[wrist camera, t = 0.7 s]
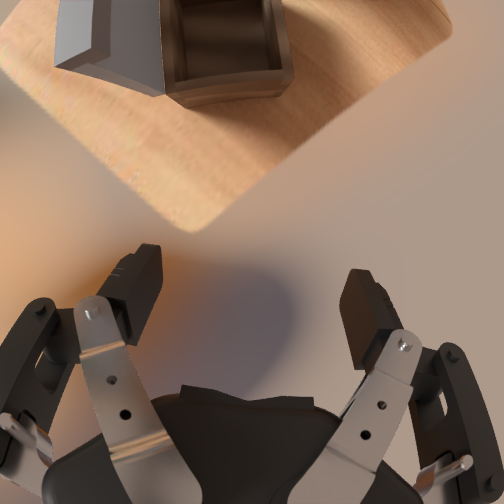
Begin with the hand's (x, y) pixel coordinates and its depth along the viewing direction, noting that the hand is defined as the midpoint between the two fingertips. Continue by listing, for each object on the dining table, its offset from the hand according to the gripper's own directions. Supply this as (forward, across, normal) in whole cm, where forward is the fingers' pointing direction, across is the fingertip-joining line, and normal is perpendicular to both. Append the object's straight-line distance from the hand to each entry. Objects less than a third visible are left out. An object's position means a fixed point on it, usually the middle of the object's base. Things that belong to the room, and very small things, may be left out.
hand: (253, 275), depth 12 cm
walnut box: (+29, +6, -14) cm, 32 cm away
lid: (+11, +10, -16) cm, 22 cm away
